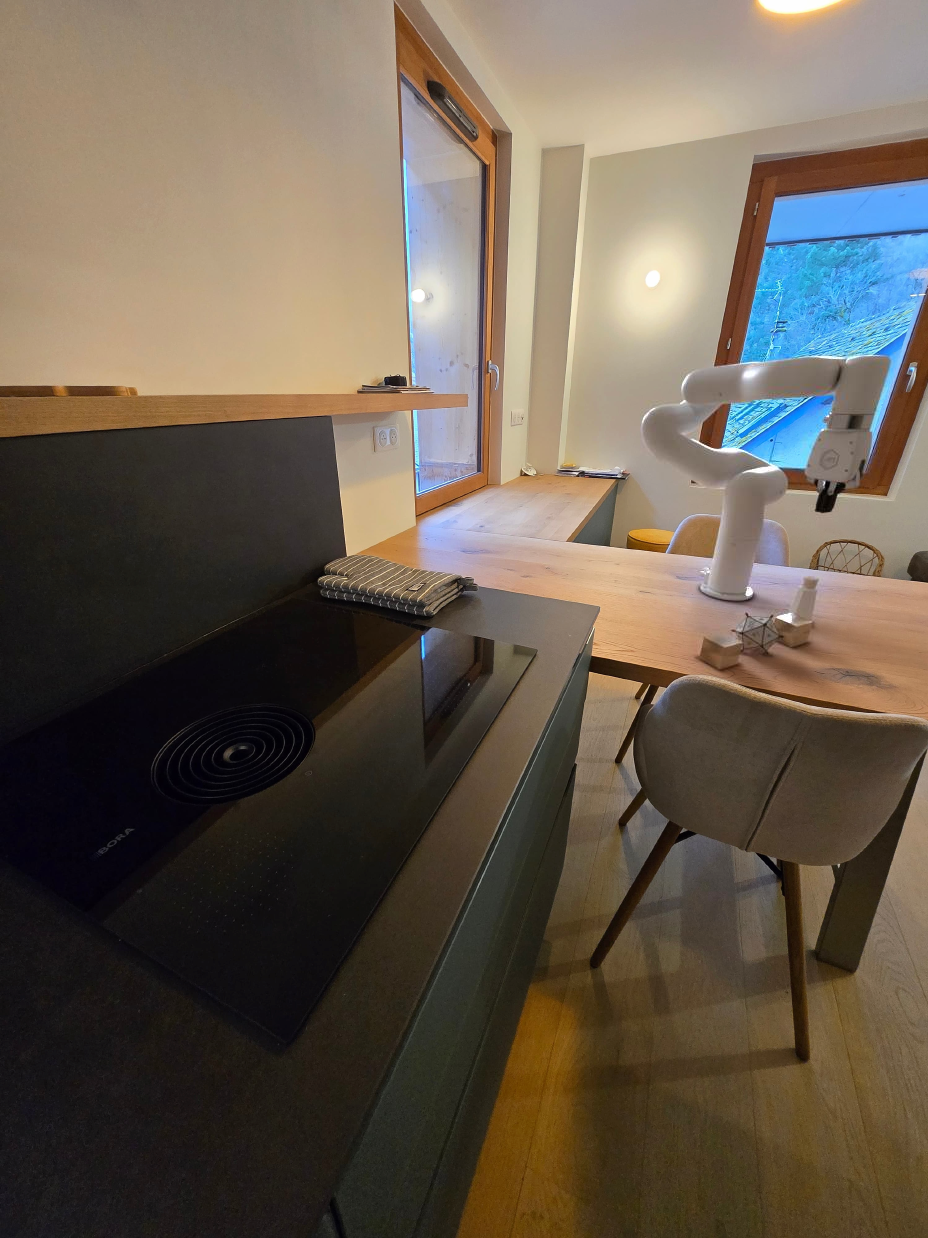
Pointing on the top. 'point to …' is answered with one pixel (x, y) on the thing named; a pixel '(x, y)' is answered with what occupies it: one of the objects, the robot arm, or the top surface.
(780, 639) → the maple block
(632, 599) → the top surface
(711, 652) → the maple block
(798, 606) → the salt shaker
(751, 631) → the clear faceted polyhedron
